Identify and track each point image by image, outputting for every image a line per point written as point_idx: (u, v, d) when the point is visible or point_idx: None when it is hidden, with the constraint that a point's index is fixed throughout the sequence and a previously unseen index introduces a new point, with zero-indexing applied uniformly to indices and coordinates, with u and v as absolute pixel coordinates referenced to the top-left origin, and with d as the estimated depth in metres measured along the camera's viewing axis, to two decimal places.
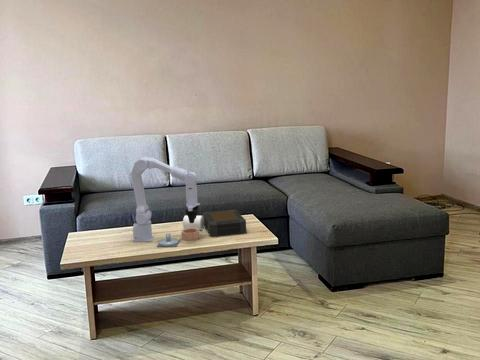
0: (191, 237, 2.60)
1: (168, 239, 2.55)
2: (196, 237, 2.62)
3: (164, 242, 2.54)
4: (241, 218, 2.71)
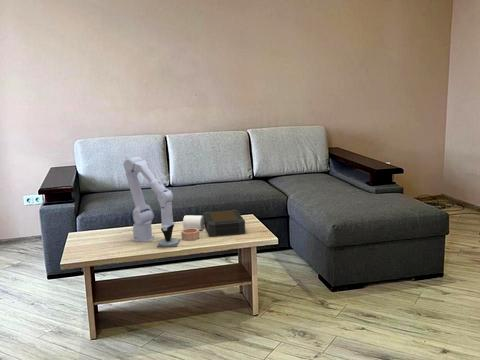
0: (191, 237, 2.60)
1: None
2: (196, 237, 2.62)
3: (164, 242, 2.54)
4: (240, 218, 2.71)
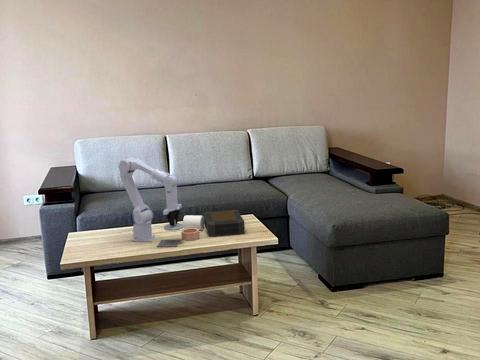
0: (191, 237, 2.60)
1: None
2: (196, 237, 2.62)
3: (167, 227, 2.55)
4: (240, 218, 2.71)
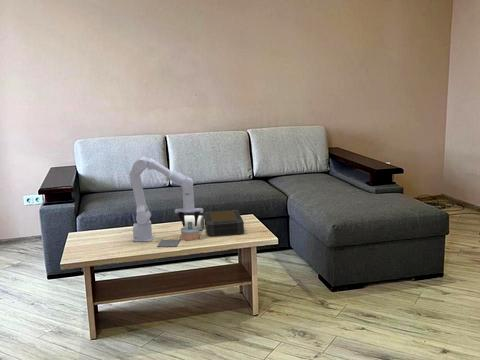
0: (191, 237, 2.60)
1: (188, 226, 2.64)
2: (196, 237, 2.62)
3: (184, 228, 2.66)
4: (239, 219, 2.70)
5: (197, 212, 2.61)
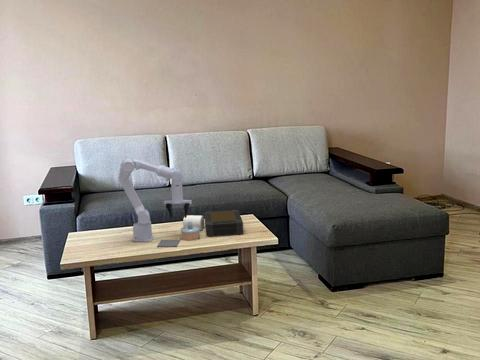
0: (191, 237, 2.60)
1: (188, 226, 2.64)
2: (196, 237, 2.62)
3: (184, 228, 2.66)
4: (238, 219, 2.70)
5: (185, 204, 2.65)
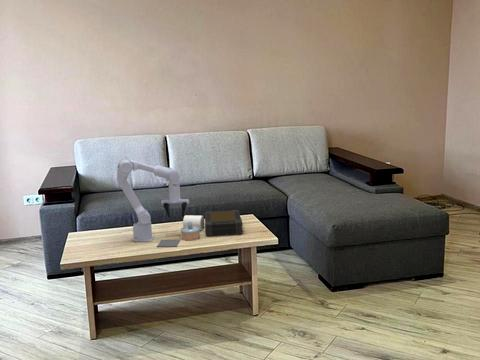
0: (191, 237, 2.60)
1: (188, 226, 2.64)
2: (196, 237, 2.62)
3: (184, 228, 2.66)
4: (238, 219, 2.70)
5: (183, 203, 2.66)
